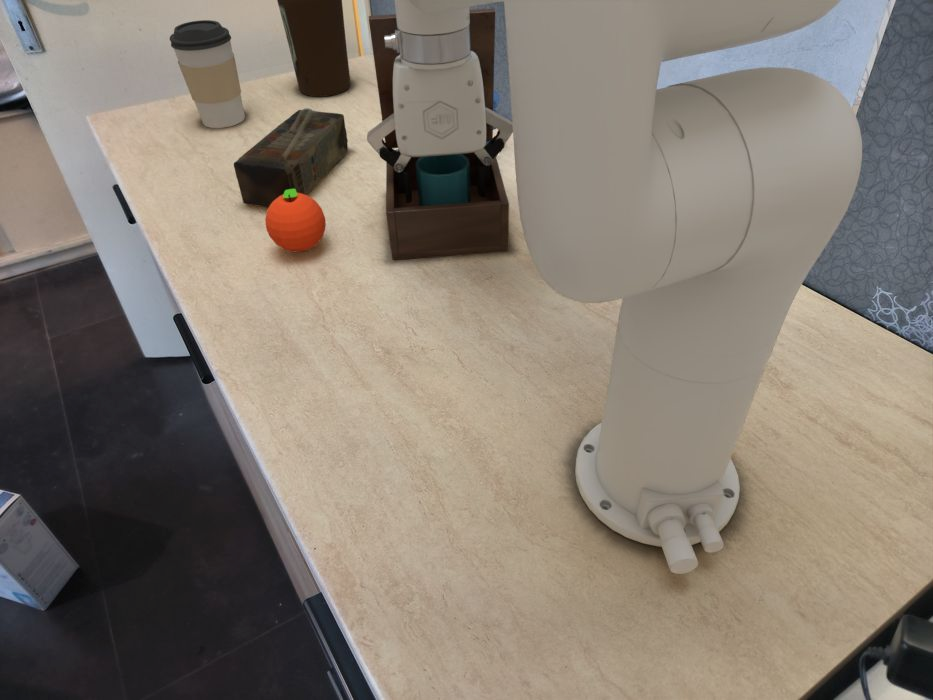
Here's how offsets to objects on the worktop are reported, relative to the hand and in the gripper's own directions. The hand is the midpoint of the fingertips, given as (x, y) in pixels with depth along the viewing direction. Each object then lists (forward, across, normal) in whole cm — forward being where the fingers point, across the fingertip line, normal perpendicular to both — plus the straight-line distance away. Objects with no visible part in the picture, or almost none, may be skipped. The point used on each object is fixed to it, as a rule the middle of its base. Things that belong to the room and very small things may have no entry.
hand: (444, 194), depth 80 cm
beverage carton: (+4, -20, +16) cm, 26 cm away
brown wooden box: (+4, 0, +1) cm, 4 cm away
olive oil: (+3, -19, +51) cm, 54 cm away
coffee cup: (+3, -35, +39) cm, 52 cm away
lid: (-11, 0, +6) cm, 13 cm away
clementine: (+4, -18, -2) cm, 19 cm away
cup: (+3, 0, +1) cm, 3 cm away
